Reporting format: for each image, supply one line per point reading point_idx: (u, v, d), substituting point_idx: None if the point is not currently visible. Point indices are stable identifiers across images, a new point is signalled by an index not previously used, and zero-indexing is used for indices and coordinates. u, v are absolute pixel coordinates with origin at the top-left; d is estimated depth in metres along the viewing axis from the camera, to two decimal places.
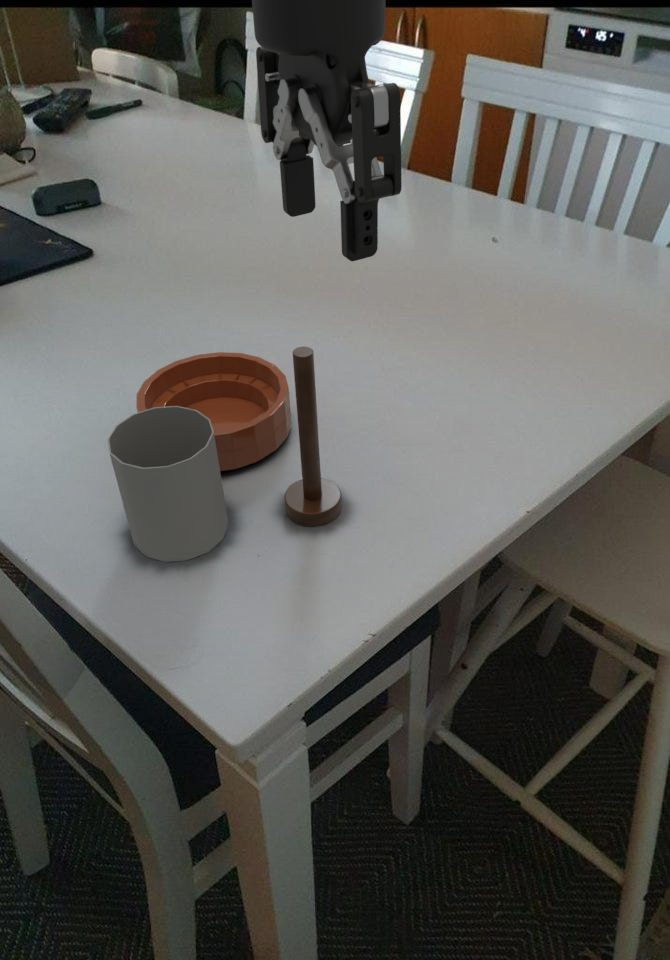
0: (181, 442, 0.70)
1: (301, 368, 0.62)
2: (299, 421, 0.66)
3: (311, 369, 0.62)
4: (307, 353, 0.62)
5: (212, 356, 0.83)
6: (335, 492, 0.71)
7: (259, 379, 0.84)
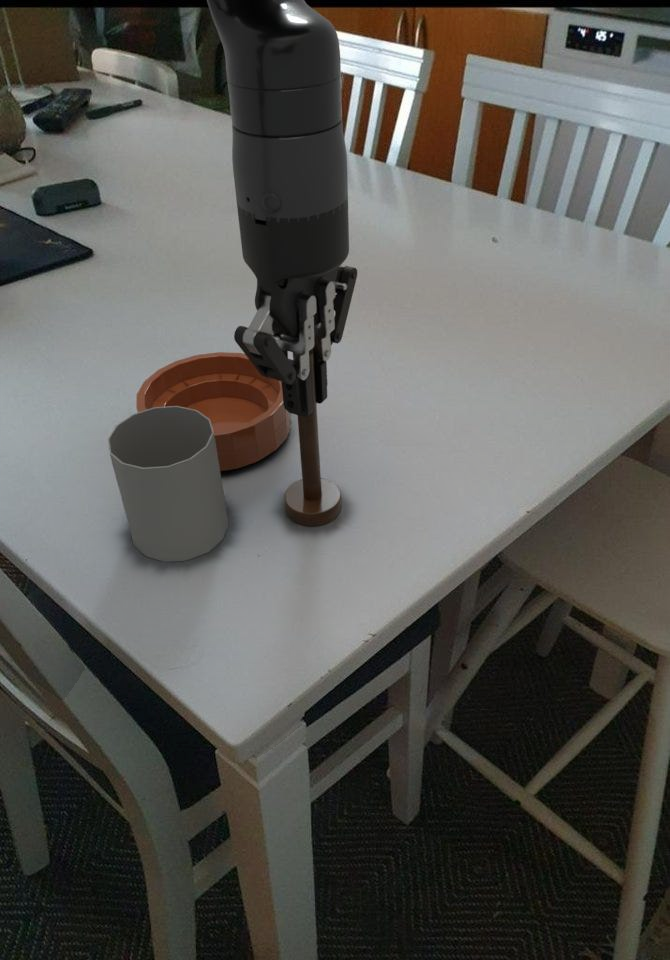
0: (181, 442, 0.70)
1: None
2: (299, 421, 0.66)
3: (311, 369, 0.63)
4: None
5: (212, 356, 0.83)
6: (335, 492, 0.71)
7: (259, 379, 0.84)
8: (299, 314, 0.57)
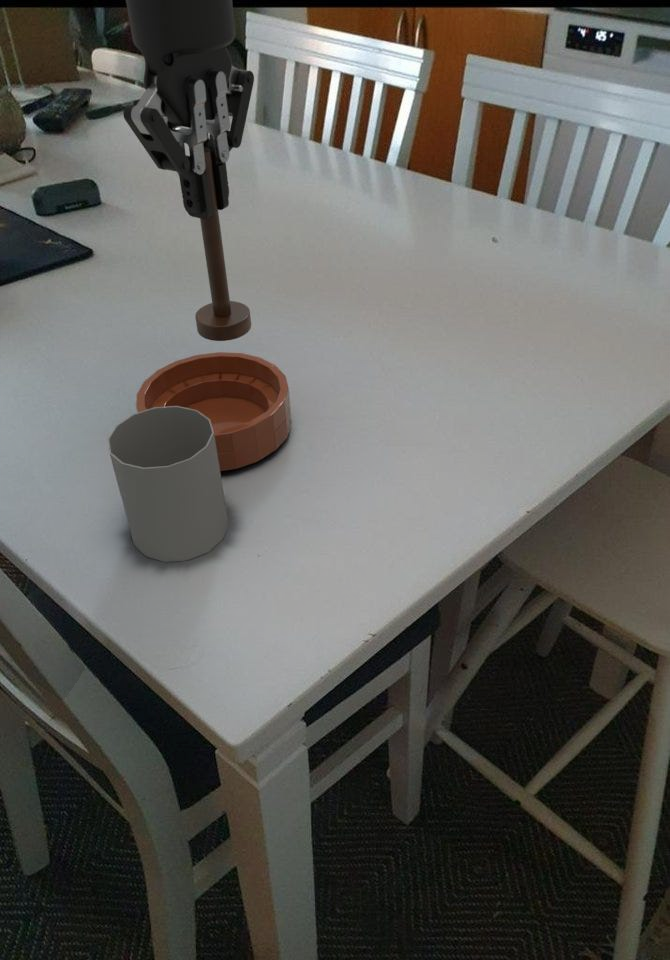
0: (181, 442, 0.70)
1: None
2: (202, 227, 0.68)
3: (209, 168, 0.65)
4: (204, 151, 0.64)
5: (212, 356, 0.83)
6: (244, 311, 0.74)
7: (259, 379, 0.84)
8: (188, 99, 0.60)
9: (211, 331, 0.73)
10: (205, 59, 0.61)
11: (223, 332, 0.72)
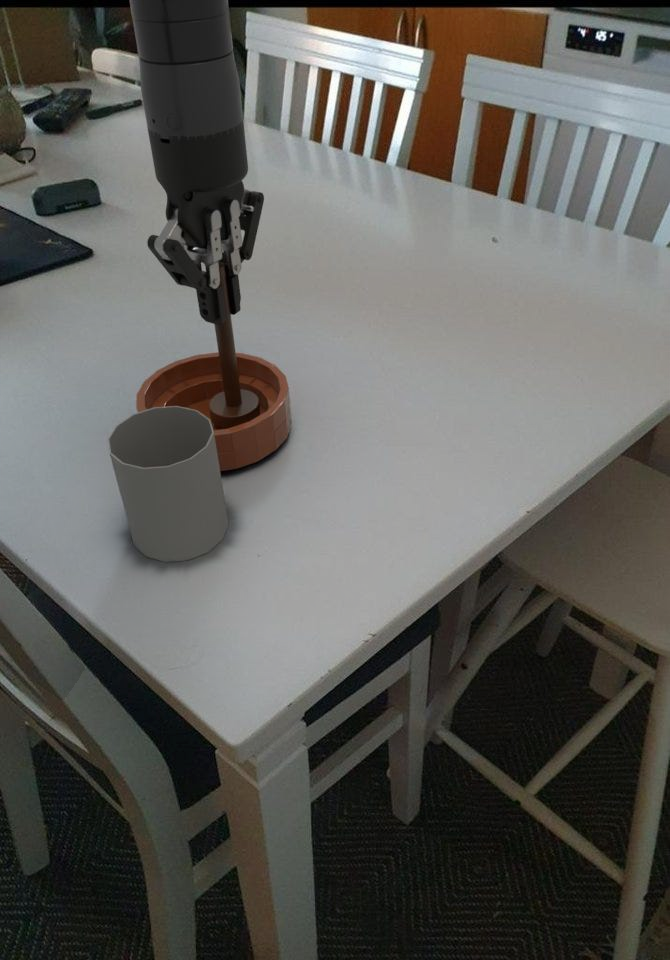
0: (181, 442, 0.70)
1: None
2: (216, 330, 0.75)
3: (223, 281, 0.72)
4: (219, 266, 0.71)
5: (212, 356, 0.83)
6: (254, 400, 0.80)
7: (259, 379, 0.84)
8: (206, 226, 0.66)
9: (223, 420, 0.79)
10: (221, 190, 0.67)
11: (234, 421, 0.79)
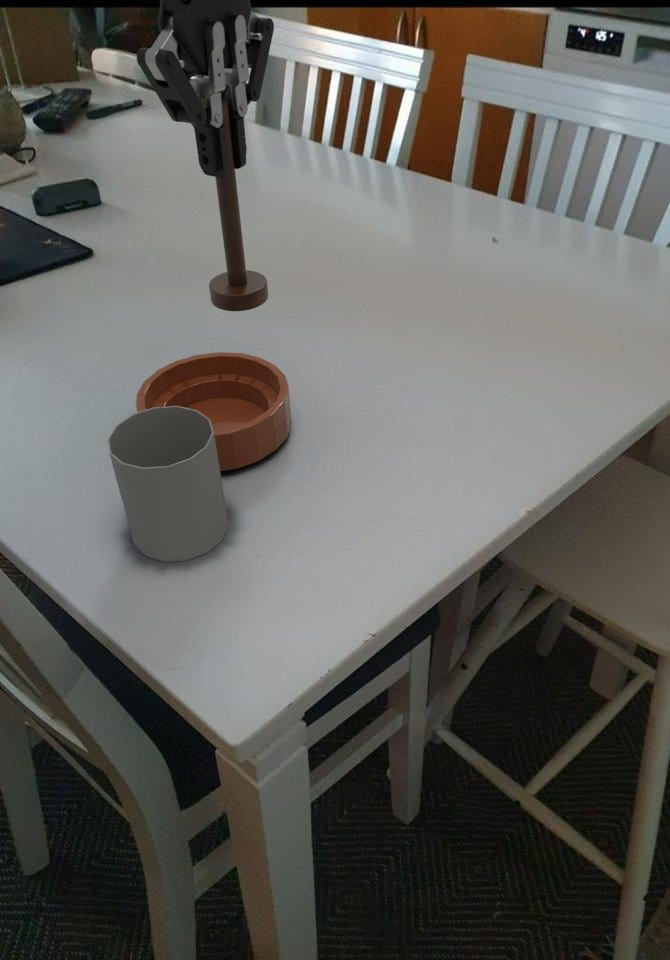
0: (181, 442, 0.70)
1: None
2: (218, 188, 0.64)
3: (226, 122, 0.61)
4: None
5: (212, 356, 0.83)
6: (261, 280, 0.70)
7: (259, 379, 0.84)
8: (206, 43, 0.56)
9: (226, 300, 0.68)
10: (224, 1, 0.56)
11: (239, 301, 0.68)
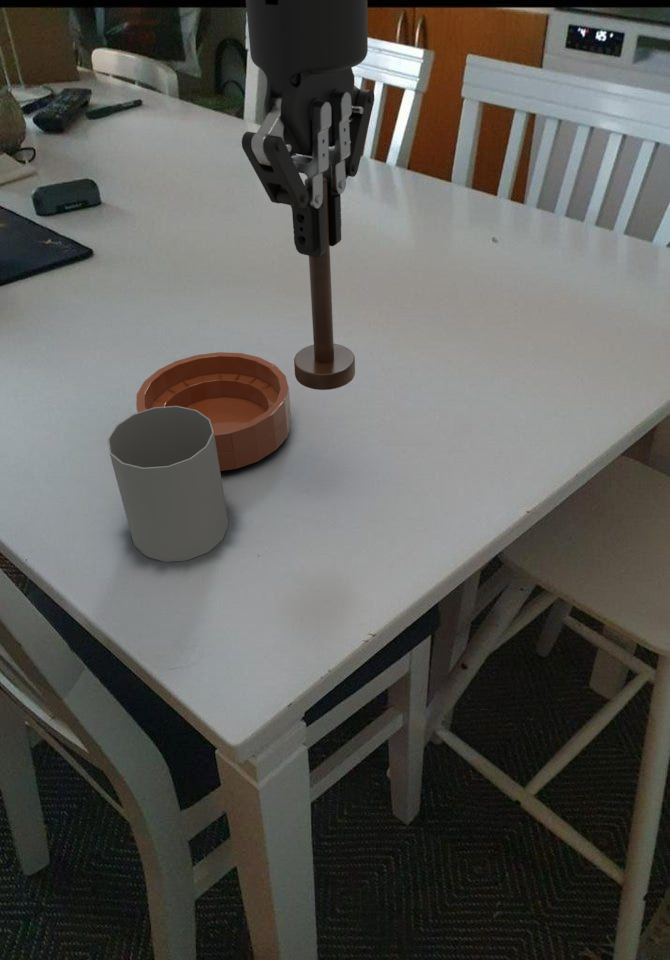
0: (181, 442, 0.70)
1: None
2: (311, 266, 0.61)
3: (325, 200, 0.57)
4: None
5: (212, 356, 0.83)
6: (348, 355, 0.66)
7: (259, 379, 0.84)
8: (312, 124, 0.52)
9: (314, 379, 0.65)
10: (330, 79, 0.53)
11: (327, 380, 0.65)
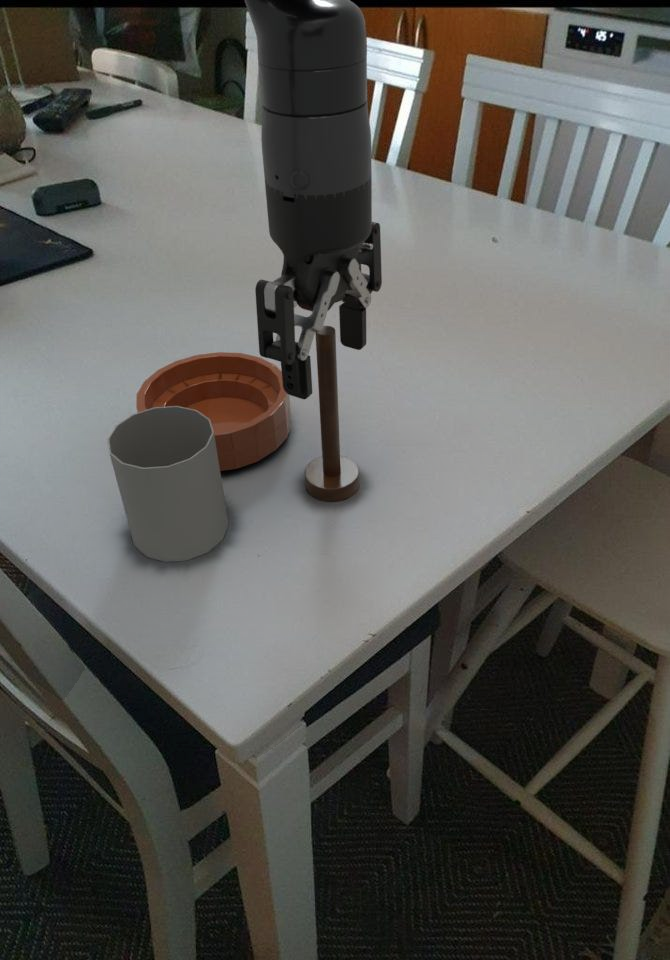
0: (181, 442, 0.70)
1: (323, 346, 0.65)
2: (320, 398, 0.68)
3: (333, 347, 0.65)
4: (330, 332, 0.64)
5: (212, 356, 0.83)
6: (353, 469, 0.74)
7: (259, 379, 0.84)
8: None
9: (323, 492, 0.72)
10: None
11: (335, 494, 0.72)
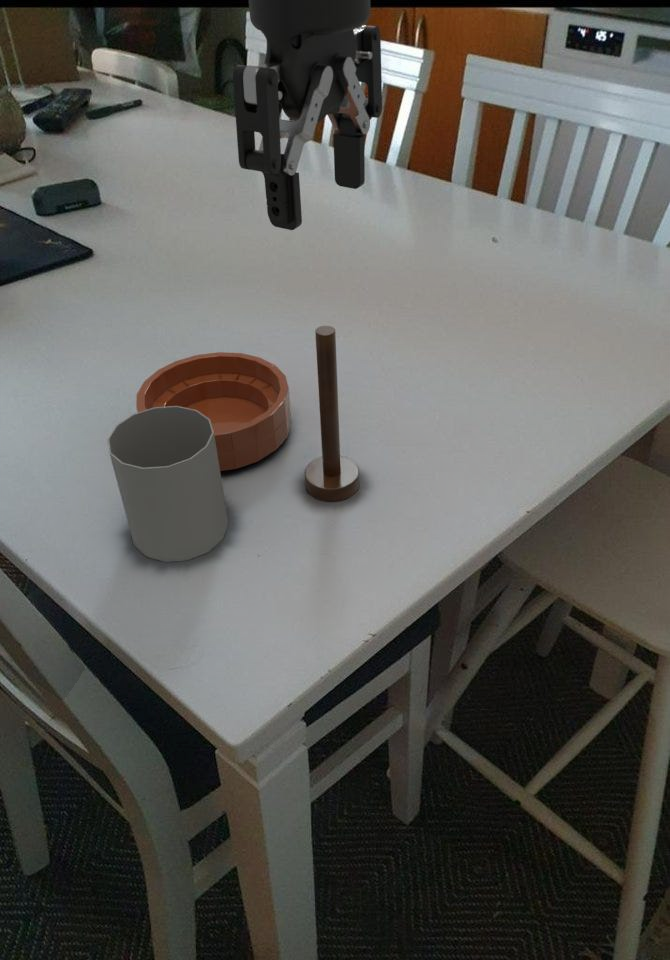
0: (181, 442, 0.70)
1: (323, 346, 0.65)
2: (320, 398, 0.68)
3: (333, 347, 0.65)
4: (330, 332, 0.64)
5: (212, 356, 0.83)
6: (353, 469, 0.74)
7: (259, 379, 0.84)
8: None
9: (323, 492, 0.72)
10: (332, 42, 0.51)
11: (335, 494, 0.72)
